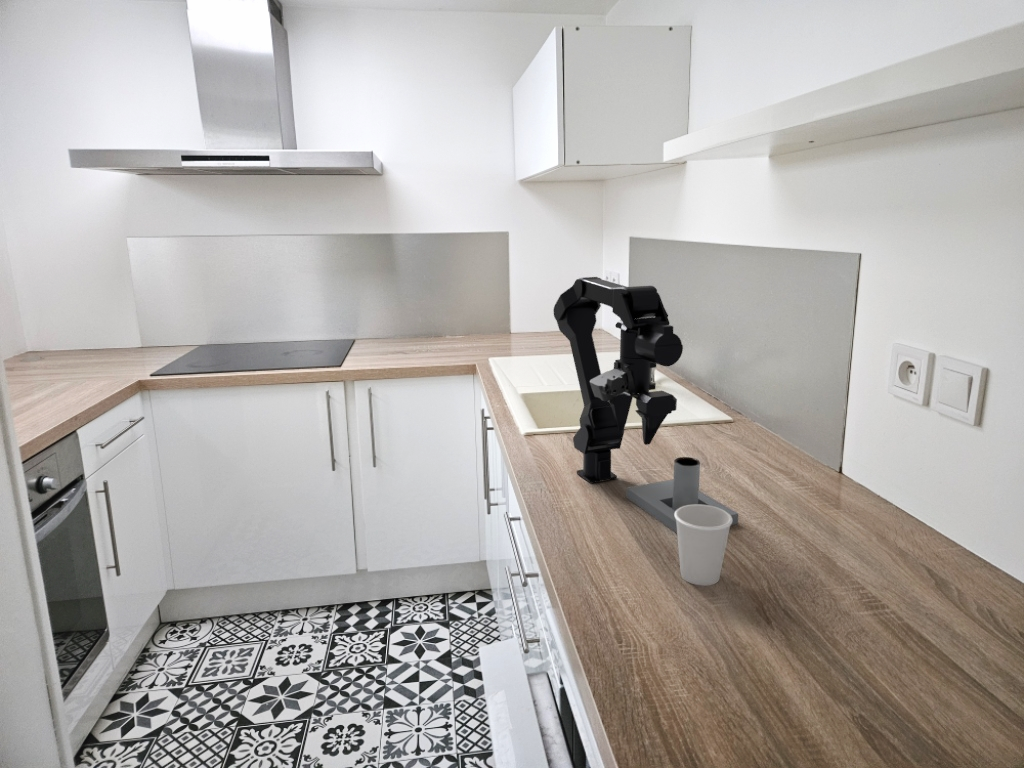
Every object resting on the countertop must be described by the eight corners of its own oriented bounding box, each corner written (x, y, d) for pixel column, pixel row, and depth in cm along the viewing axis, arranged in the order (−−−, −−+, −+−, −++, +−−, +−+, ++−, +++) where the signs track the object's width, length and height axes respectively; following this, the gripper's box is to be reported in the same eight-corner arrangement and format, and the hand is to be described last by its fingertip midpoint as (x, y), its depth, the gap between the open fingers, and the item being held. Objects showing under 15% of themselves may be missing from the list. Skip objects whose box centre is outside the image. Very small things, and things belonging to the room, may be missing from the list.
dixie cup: (691, 556, 110) (694, 499, 107) (739, 576, 104) (743, 515, 101) (660, 575, 104) (663, 515, 102) (708, 596, 98) (712, 533, 96)
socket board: (626, 497, 133) (626, 487, 132) (678, 487, 137) (678, 478, 137) (680, 536, 117) (681, 525, 116) (737, 523, 121) (738, 513, 120)
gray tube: (679, 506, 128) (681, 455, 126) (701, 512, 125) (704, 460, 123) (667, 514, 125) (669, 462, 122) (690, 521, 122) (693, 467, 120)
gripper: (573, 350, 130) (572, 428, 133) (623, 370, 113) (621, 459, 117) (624, 345, 134) (622, 421, 137) (680, 363, 117) (676, 450, 121)
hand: (633, 437), depth 128 cm, fingers open, 9 cm apart
